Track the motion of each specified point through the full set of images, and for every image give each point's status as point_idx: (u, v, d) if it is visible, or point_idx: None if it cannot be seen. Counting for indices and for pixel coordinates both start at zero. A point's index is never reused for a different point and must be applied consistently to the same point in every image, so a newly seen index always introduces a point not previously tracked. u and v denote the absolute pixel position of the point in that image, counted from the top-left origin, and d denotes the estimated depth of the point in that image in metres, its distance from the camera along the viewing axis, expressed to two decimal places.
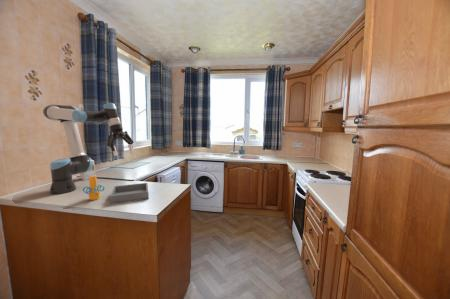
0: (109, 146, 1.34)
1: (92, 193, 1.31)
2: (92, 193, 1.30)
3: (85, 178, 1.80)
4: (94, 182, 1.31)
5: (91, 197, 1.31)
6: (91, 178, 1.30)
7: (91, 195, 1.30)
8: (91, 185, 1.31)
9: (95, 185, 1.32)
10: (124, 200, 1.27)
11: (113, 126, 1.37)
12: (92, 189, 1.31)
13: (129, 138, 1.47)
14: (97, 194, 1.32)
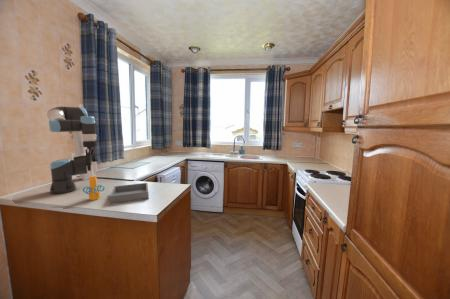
0: (85, 164, 1.22)
1: (92, 193, 1.31)
2: (92, 193, 1.30)
3: (85, 178, 1.80)
4: (94, 182, 1.31)
5: (91, 197, 1.31)
6: (91, 178, 1.30)
7: (91, 195, 1.30)
8: (91, 185, 1.31)
9: (95, 185, 1.32)
10: (124, 200, 1.27)
11: (91, 143, 1.27)
12: (92, 189, 1.31)
13: (95, 155, 1.37)
14: (97, 194, 1.32)
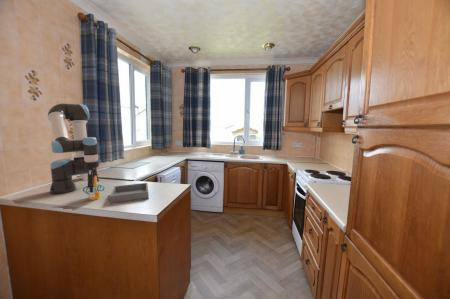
0: (87, 187, 1.25)
1: None
2: None
3: (85, 178, 1.80)
4: (94, 182, 1.31)
5: (91, 197, 1.31)
6: None
7: None
8: None
9: (95, 185, 1.32)
10: (124, 200, 1.27)
11: (93, 164, 1.28)
12: None
13: (96, 175, 1.39)
14: (97, 194, 1.32)
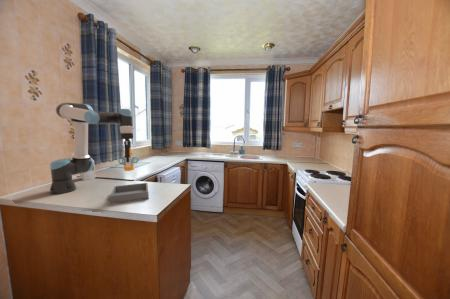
0: (124, 156, 1.28)
1: None
2: None
3: (85, 178, 1.80)
4: None
5: (126, 168, 1.33)
6: None
7: None
8: None
9: (130, 156, 1.34)
10: (124, 200, 1.27)
11: (129, 135, 1.31)
12: None
13: None
14: (132, 165, 1.35)
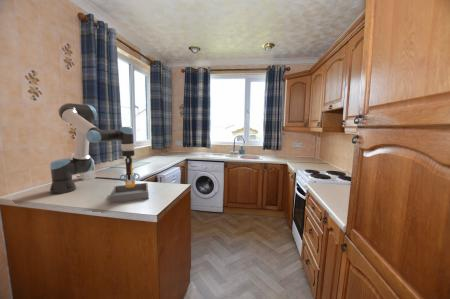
0: (126, 174, 1.29)
1: None
2: None
3: (85, 178, 1.80)
4: None
5: (128, 185, 1.34)
6: None
7: None
8: None
9: (131, 173, 1.36)
10: (124, 200, 1.27)
11: (130, 152, 1.32)
12: None
13: None
14: (133, 182, 1.36)
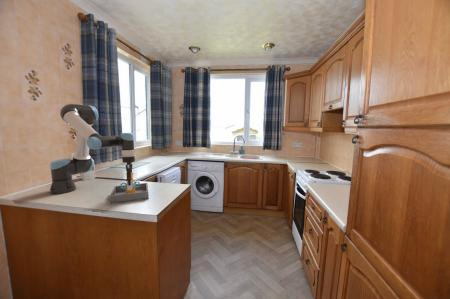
0: (126, 180, 1.28)
1: None
2: None
3: (85, 178, 1.80)
4: (131, 178, 1.36)
5: None
6: None
7: (128, 191, 1.35)
8: None
9: (132, 181, 1.36)
10: (124, 200, 1.27)
11: (131, 158, 1.33)
12: None
13: None
14: (133, 190, 1.37)
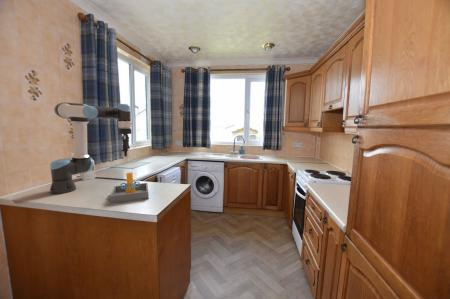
0: (122, 150, 1.28)
1: (129, 189, 1.35)
2: (129, 189, 1.35)
3: (85, 178, 1.80)
4: (131, 178, 1.36)
5: None
6: (128, 174, 1.35)
7: (128, 191, 1.35)
8: (128, 181, 1.35)
9: (132, 181, 1.36)
10: (124, 200, 1.27)
11: (127, 130, 1.32)
12: (129, 185, 1.35)
13: (128, 142, 1.42)
14: (133, 190, 1.37)
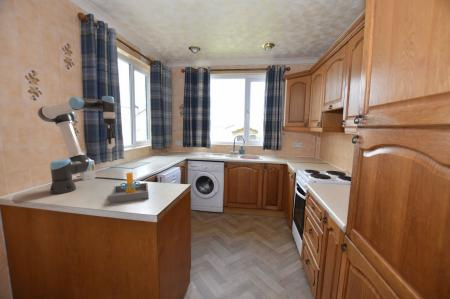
0: (106, 138, 1.39)
1: (129, 189, 1.35)
2: (129, 189, 1.35)
3: (85, 178, 1.80)
4: (131, 178, 1.36)
5: None
6: (128, 174, 1.35)
7: (128, 191, 1.35)
8: (128, 181, 1.35)
9: (132, 181, 1.36)
10: (124, 200, 1.27)
11: (111, 120, 1.44)
12: (129, 185, 1.35)
13: (113, 132, 1.54)
14: (133, 190, 1.37)
